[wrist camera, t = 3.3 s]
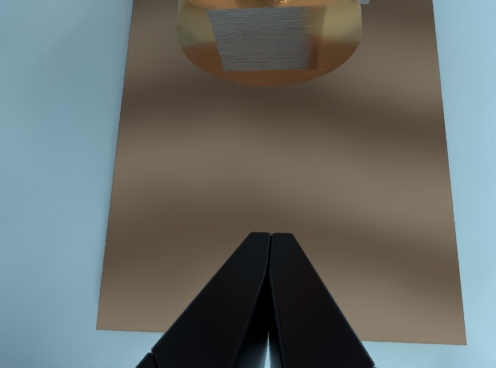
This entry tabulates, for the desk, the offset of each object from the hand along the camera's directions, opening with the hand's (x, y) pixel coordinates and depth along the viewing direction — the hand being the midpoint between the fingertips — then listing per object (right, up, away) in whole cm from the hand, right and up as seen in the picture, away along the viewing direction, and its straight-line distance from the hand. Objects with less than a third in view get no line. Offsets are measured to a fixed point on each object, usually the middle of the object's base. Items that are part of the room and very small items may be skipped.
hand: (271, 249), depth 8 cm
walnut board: (+1, +5, +11) cm, 12 cm away
